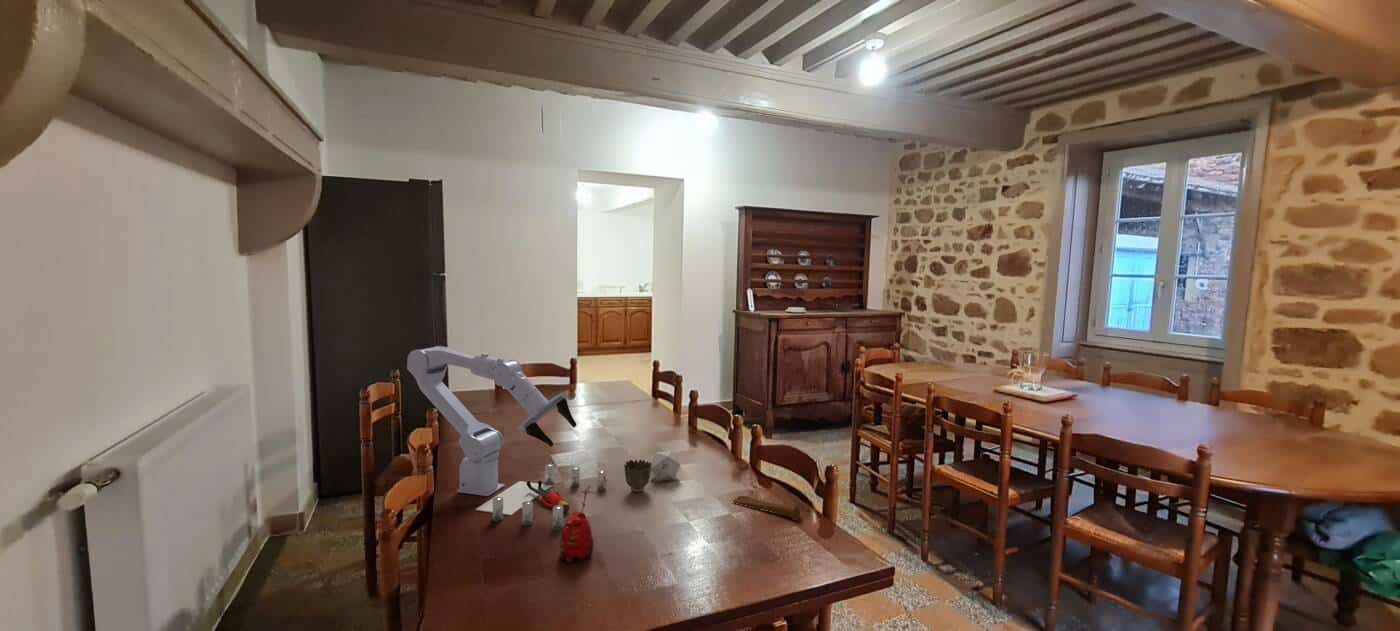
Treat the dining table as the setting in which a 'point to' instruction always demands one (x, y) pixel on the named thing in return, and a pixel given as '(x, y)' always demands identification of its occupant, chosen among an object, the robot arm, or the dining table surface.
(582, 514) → the red clay folk toy
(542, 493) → the person figure
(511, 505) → the mat
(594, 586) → the dining table surface
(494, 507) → the spacer field
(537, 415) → the robot arm
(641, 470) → the cup
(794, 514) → the primitive tool
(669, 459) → the die
